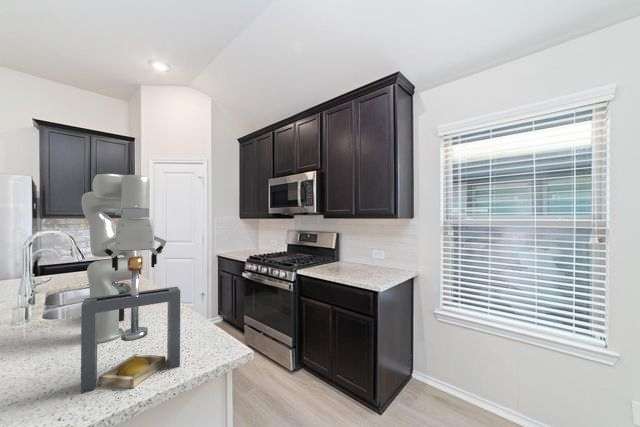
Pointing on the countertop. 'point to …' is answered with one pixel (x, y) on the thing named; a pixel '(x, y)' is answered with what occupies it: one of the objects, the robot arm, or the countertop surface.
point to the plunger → (134, 332)
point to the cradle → (131, 382)
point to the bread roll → (133, 367)
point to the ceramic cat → (122, 290)
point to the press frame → (121, 302)
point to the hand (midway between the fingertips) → (135, 268)
